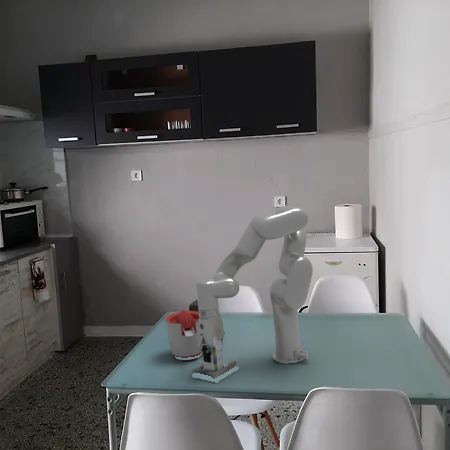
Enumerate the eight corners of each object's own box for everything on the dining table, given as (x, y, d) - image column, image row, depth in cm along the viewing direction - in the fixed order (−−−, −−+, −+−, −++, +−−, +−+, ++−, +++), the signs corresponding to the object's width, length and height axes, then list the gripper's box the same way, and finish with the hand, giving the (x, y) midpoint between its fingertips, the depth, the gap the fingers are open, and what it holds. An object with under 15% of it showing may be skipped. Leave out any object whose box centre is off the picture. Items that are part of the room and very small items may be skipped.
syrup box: (203, 373, 191) (199, 336, 189) (211, 366, 197) (208, 330, 194) (216, 375, 189) (213, 337, 186) (224, 368, 194) (221, 332, 192)
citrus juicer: (173, 368, 201) (168, 319, 198) (166, 352, 218) (162, 307, 215) (212, 360, 205) (207, 312, 202) (202, 346, 222) (198, 301, 219)
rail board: (239, 369, 195) (238, 361, 195) (217, 383, 184) (216, 375, 184) (214, 363, 202) (213, 356, 202) (191, 377, 191) (190, 369, 191)
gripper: (202, 320, 180) (206, 369, 183) (230, 306, 194) (234, 352, 196) (186, 318, 185) (190, 365, 187) (215, 304, 198) (219, 349, 201)
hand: (213, 358), depth 192 cm, fingers closed on syrup box, 6 cm apart
